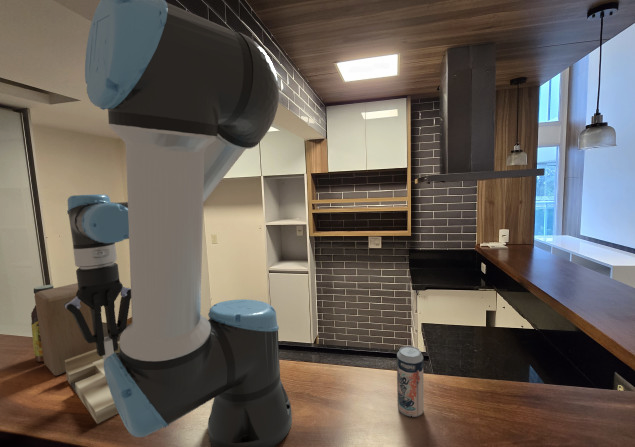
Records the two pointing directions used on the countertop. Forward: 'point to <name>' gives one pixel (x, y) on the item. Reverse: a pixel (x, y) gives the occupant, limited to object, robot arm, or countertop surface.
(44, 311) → the block
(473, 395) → the countertop surface
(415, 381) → the beer can
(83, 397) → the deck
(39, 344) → the sauce bottle
